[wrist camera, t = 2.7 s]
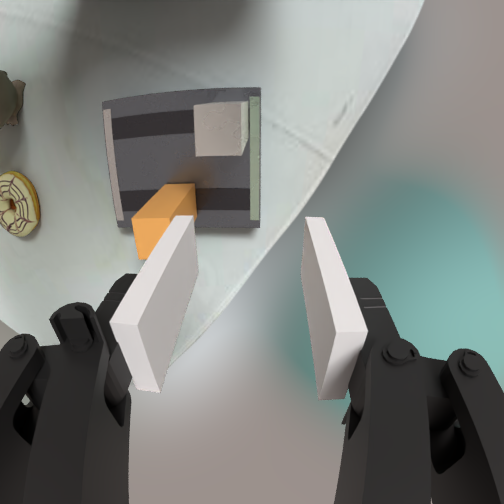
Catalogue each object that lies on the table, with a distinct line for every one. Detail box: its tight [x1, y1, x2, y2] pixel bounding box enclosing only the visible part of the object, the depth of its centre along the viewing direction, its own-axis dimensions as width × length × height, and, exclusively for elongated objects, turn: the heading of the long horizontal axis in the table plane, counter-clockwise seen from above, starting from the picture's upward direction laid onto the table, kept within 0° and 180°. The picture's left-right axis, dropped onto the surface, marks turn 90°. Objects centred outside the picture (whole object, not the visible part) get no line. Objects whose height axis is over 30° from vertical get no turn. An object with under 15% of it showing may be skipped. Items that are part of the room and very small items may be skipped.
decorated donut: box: [0, 171, 40, 237], centre depth 37 cm, size 10×11×4 cm
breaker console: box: [102, 87, 261, 228], centre depth 30 cm, size 18×16×13 cm
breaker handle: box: [132, 183, 197, 259], centre depth 30 cm, size 4×4×10 cm
